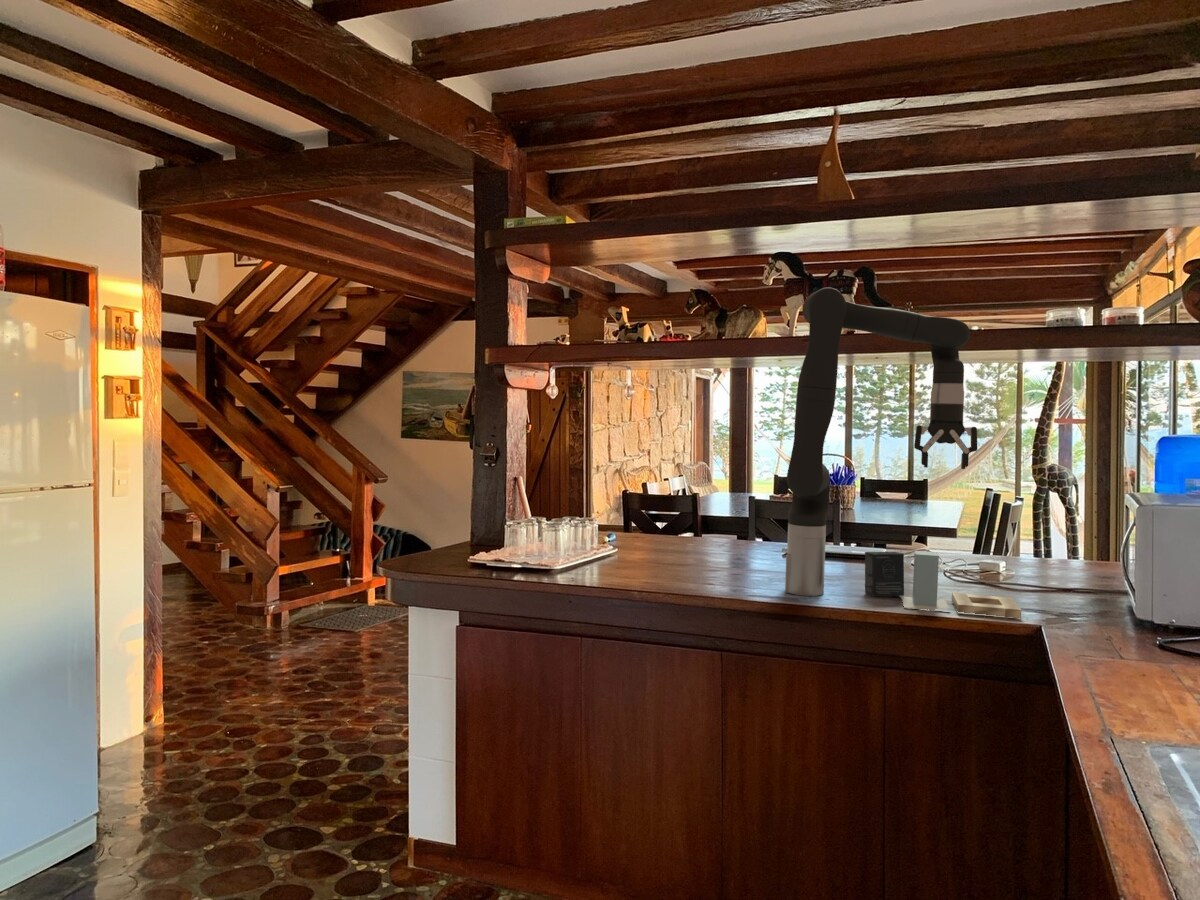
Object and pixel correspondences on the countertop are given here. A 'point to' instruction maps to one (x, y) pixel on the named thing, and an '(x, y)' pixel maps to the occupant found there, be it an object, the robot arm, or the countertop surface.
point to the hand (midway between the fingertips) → (944, 468)
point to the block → (925, 578)
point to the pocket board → (986, 605)
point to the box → (884, 573)
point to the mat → (909, 604)
